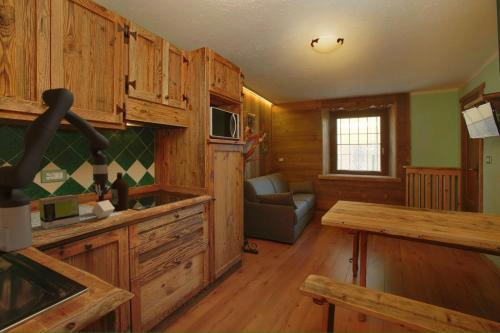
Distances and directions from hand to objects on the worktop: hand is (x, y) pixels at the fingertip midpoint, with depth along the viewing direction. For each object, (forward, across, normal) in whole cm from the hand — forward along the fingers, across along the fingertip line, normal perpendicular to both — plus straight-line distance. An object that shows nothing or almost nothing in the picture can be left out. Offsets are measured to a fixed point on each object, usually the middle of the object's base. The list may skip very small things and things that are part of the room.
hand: (101, 201), depth 142 cm
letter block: (+7, -1, 0) cm, 7 cm away
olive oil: (+10, -7, +18) cm, 22 cm away
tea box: (+10, -8, -18) cm, 22 cm away
